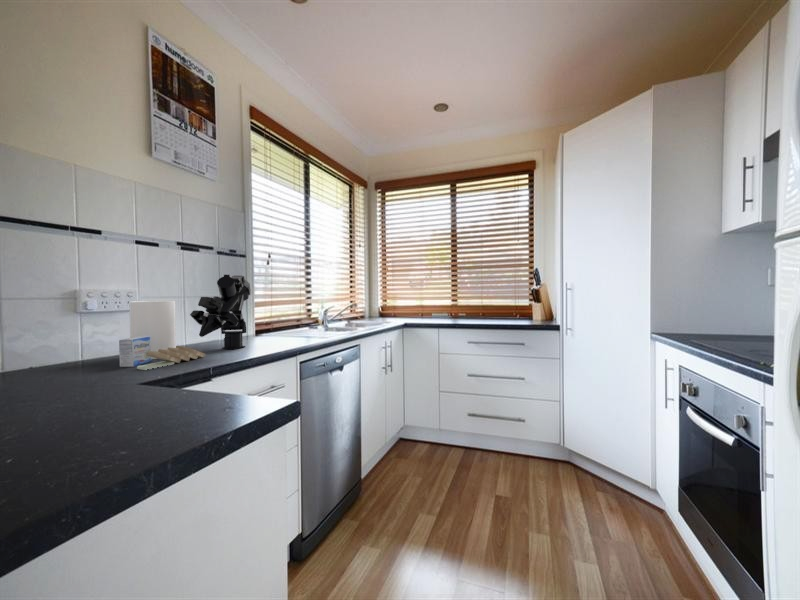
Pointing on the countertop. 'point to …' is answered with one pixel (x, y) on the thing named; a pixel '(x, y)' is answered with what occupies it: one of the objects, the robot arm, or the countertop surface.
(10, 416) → the countertop surface
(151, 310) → the canister
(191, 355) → the tile
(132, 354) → the medicine box
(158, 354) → the tile
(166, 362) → the tile
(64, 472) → the countertop surface
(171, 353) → the tile
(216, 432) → the countertop surface
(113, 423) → the countertop surface
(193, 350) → the tile
